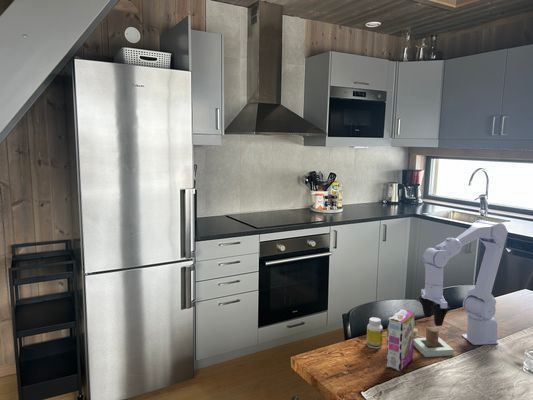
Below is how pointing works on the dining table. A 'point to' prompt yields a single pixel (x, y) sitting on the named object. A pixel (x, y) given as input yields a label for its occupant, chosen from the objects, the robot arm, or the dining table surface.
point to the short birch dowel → (415, 333)
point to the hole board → (429, 352)
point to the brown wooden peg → (432, 338)
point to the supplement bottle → (374, 333)
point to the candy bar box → (400, 339)
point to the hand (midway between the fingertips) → (432, 321)
